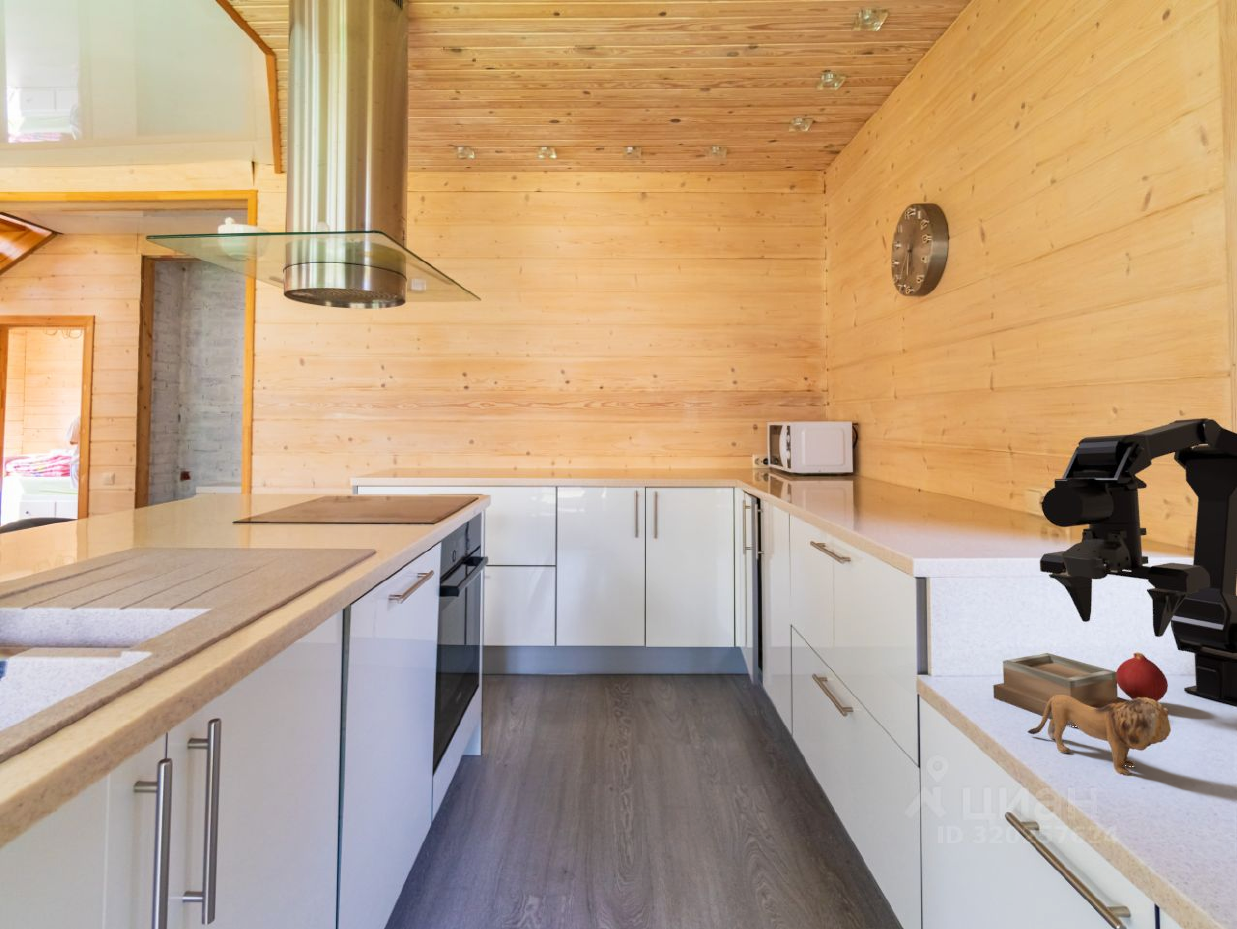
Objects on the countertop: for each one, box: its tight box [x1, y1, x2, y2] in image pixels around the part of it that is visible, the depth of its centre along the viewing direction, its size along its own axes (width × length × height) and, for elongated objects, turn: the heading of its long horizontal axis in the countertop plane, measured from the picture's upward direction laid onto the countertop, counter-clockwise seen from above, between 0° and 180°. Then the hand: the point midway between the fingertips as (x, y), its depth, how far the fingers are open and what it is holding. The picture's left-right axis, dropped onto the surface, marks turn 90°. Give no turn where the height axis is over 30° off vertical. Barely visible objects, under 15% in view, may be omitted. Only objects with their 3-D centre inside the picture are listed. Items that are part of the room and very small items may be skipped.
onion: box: [1116, 652, 1169, 702], centre depth 88 cm, size 6×6×8 cm
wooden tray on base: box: [992, 652, 1131, 727], centre depth 89 cm, size 12×12×6 cm
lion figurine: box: [1027, 695, 1172, 776], centre depth 73 cm, size 15×5×9 cm, turn 34°
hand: (1120, 628), depth 85 cm, fingers open, 9 cm apart
